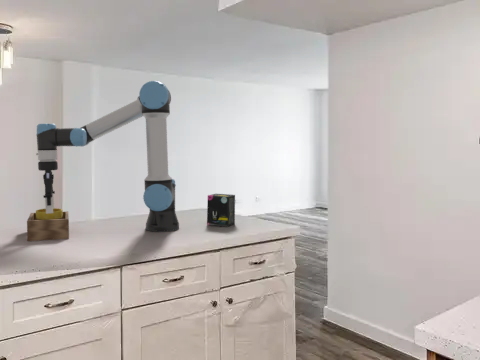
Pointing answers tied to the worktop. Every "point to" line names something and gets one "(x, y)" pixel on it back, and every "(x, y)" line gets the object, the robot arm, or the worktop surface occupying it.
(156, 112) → the robot arm
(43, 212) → the plant pot
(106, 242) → the worktop surface
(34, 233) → the open wooden box
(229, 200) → the tampon box
